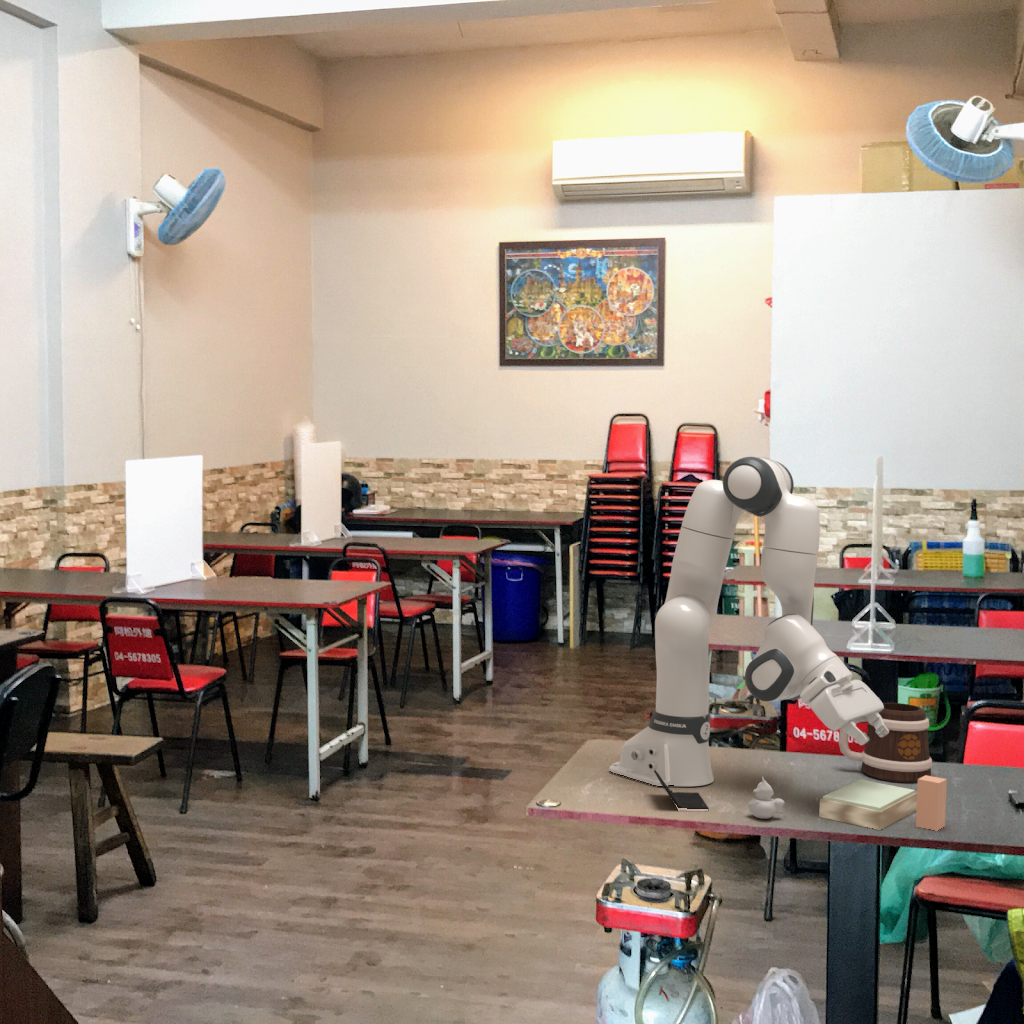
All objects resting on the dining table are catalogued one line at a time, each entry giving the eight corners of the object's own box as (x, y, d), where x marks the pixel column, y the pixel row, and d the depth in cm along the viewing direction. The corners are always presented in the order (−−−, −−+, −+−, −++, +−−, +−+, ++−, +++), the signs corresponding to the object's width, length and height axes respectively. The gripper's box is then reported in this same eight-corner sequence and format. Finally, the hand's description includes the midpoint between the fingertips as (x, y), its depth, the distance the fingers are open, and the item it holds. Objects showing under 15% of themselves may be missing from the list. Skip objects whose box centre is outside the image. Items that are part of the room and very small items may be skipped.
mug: (925, 769, 268) (928, 702, 267) (938, 786, 253) (941, 716, 252) (833, 763, 271) (836, 697, 270) (841, 780, 256) (844, 710, 255)
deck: (819, 816, 228) (820, 796, 227) (858, 798, 241) (859, 778, 241) (880, 830, 220) (880, 808, 220) (916, 810, 234) (917, 790, 234)
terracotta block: (915, 826, 223) (917, 779, 222) (923, 822, 226) (925, 775, 225) (937, 831, 220) (939, 783, 220) (944, 826, 223) (946, 779, 223)
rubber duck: (748, 812, 229) (749, 771, 229) (783, 815, 228) (784, 774, 228) (748, 820, 224) (749, 778, 223) (784, 823, 223) (785, 781, 222)
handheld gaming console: (719, 803, 230) (687, 762, 229) (691, 827, 228) (659, 786, 228) (698, 795, 241) (669, 756, 241) (672, 818, 239) (642, 779, 239)
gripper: (840, 685, 245) (885, 740, 239) (795, 698, 229) (842, 757, 223) (862, 666, 242) (908, 721, 236) (818, 678, 226) (865, 737, 220)
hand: (875, 739), depth 230 cm, fingers open, 8 cm apart
